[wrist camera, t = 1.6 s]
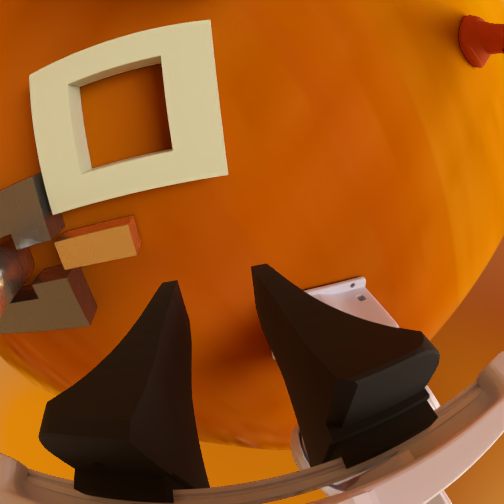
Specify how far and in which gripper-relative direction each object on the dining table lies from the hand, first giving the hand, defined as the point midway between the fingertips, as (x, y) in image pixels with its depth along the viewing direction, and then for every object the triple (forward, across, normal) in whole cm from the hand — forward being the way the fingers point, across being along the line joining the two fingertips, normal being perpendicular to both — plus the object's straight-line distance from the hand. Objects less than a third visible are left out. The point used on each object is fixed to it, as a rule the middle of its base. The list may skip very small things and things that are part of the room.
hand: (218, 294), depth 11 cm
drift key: (+9, +8, 0) cm, 12 cm away
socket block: (+9, +17, 0) cm, 20 cm away
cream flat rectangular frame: (+9, +4, -8) cm, 13 cm away
